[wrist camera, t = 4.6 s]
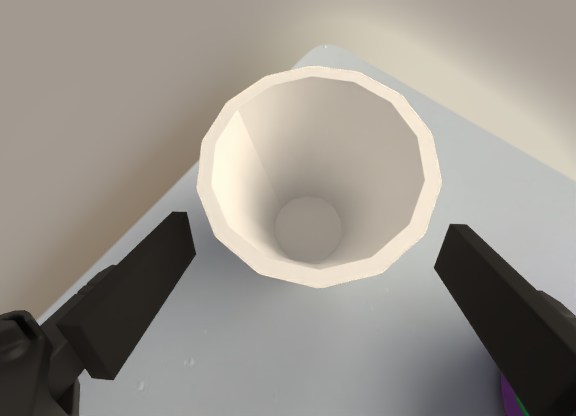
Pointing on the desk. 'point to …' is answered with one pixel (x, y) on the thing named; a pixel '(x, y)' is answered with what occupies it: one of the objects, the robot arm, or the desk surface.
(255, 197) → the foam cup
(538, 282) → the desk surface
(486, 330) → the robot arm
